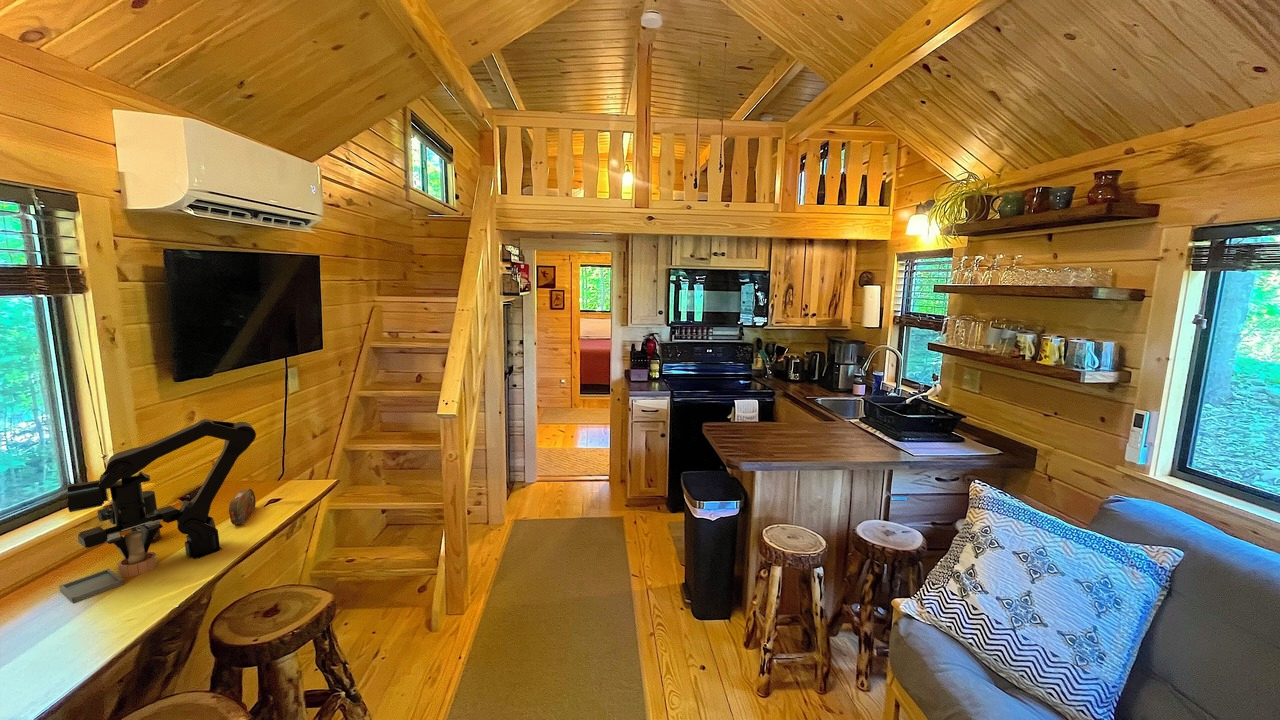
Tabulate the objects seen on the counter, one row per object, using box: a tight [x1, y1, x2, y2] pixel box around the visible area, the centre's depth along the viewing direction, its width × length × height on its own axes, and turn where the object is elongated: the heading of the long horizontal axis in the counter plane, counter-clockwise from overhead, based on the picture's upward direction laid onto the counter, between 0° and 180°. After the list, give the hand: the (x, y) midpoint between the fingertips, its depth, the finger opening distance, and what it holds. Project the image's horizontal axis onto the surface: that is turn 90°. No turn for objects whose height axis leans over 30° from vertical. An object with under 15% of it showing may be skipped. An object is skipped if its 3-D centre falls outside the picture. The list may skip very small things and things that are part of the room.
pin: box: [123, 531, 146, 565], centre depth 136 cm, size 3×3×10 cm
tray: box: [58, 568, 125, 604], centre depth 129 cm, size 9×10×2 cm
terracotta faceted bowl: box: [116, 551, 158, 578], centre depth 137 cm, size 7×7×4 cm
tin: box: [228, 488, 256, 526], centre depth 167 cm, size 15×3×8 cm, turn 20°
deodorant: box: [130, 490, 162, 545], centre depth 150 cm, size 6×6×15 cm
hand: (136, 555), depth 136 cm, fingers closed on pin, 3 cm apart
